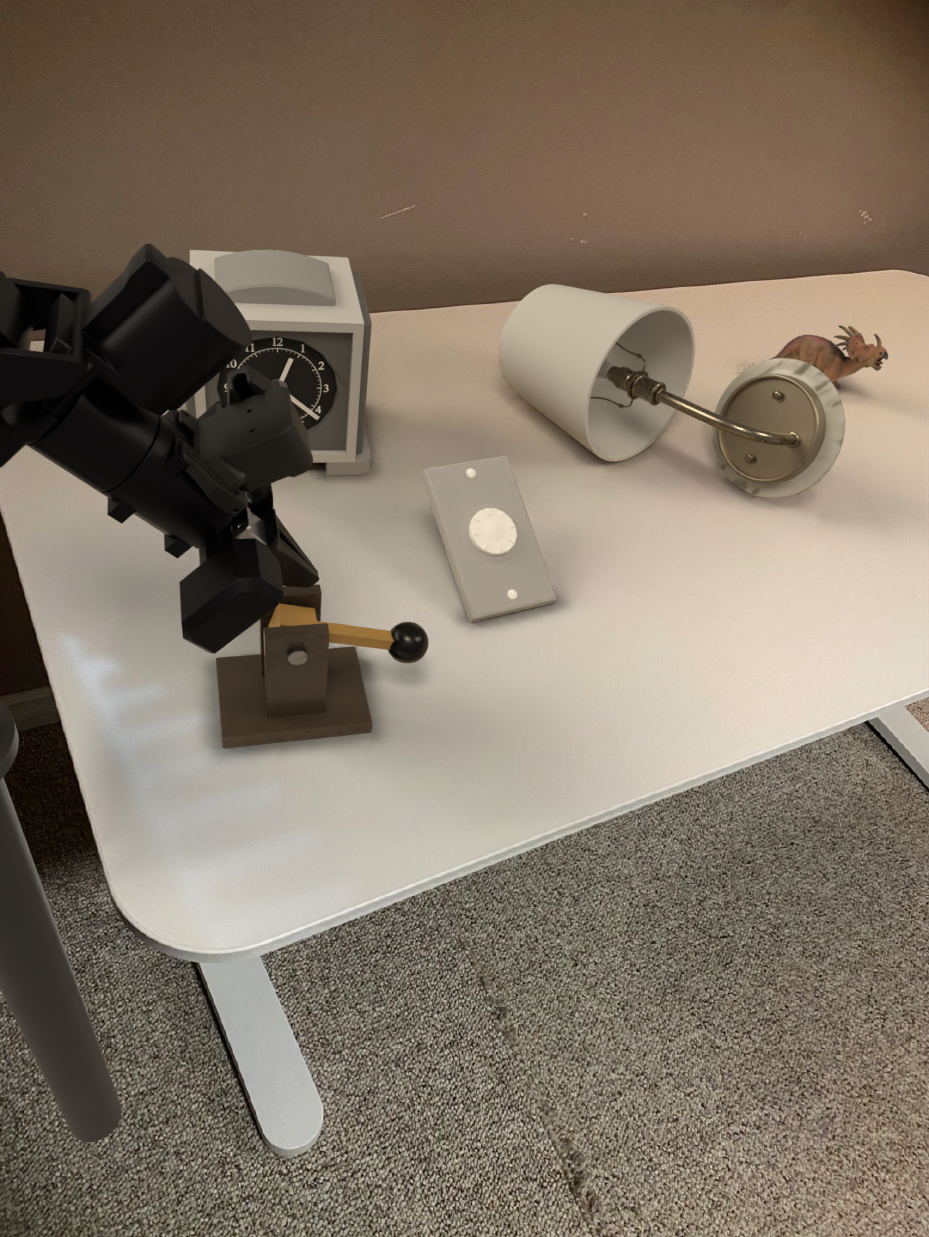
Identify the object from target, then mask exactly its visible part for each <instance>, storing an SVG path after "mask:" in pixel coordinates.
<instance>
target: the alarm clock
mask: <svg viewBox="0 0 929 1237" xmlns="http://www.w3.org/2000/svg"><path fill="white" fill-rule="evenodd" d="M189 264H190V265H191V266H193V267H194V268H195V269H197V270H198V269H199V268H201V269H202V270H204V271H205V272H206V273H207V274H208V275H209V276H210V277H211V278H212V279H213V280H214V281H215V282H216V283H217V284H218V285H219V286H220V287H221V288H222V289H223V290H224V291H225V292H226V294H227V295H228V296H229V297H230V298H231V300H232V301H233V302H234V303H235V305H236V306H237V307H238V309H239V310H240V312H241V313H242V315H243V316H244V318H245V320H246V322H247V324H248V326H249V328H250V331H251V334H252V343H251V344H250V345H249V346H248V347H247V348H246V349H245V350H244V351H242V352H241V353H240V354H239V355H238V356H237V357H236V358H235V359H234V360H232V361H231V362H230V363H229V364H228V365H227V366H226V367H225V368H223V369H222V370H221V371H220V372H219V373H218V374H217V375H216V376H215V377H213V378H212V379H211V380H210V381H209V382H208V383H207V384H206V385H204V386H203V387H202V388H201V389H200V390H199V391H198V392H197V393H196V394H194V395H193V396H192V397H191V398H190V399H189V400H188V401H187V402H185V403H184V404H183V405H182V406H181V410H182V409H183V410H185V411H187V412H188V413H189V414H191V415H192V416H193V417H195V418H197V419H198V418H199V417H200V416H201V415H202V414H203V413H204V412H206V411H207V410H208V409H209V408H210V407H211V406H212V405H214V404H215V403H216V402H217V401H228V397H227V374H228V373H229V372H231V371H234V370H236V369H239V368H241V367H244V366H246V365H249V366H250V367H252V368H253V369H255V370H256V371H258V372H259V373H261V374H262V375H264V376H265V377H267V378H268V379H269V380H270V381H271V382H273V381H275V380H278V382H279V384H280V386H281V387H286V388H287V389H288V390H289V392H290V397H291V401H292V403H293V405H294V407H295V409H296V411H297V413H298V415H299V417H300V418H301V420H302V422H303V424H304V426H305V428H306V430H307V433H308V441H309V446H310V450H311V453H312V456H313V463H324V467H325V474H326V476H363V475H366V474H368V473H369V471H370V470H371V465H372V463H371V462H372V453H371V449H370V445H369V438H368V435H367V434H368V433H367V430H366V425H365V420H366V406H367V392H368V380H369V367H370V366H369V365H370V354H371V352H370V351H371V338H372V324H373V322H372V319H371V315H370V311H369V307H368V303H367V300H366V295H365V291H364V288H363V284H362V279H361V275H360V272H352V268H351V264H350V260H349V257H345V256H344V257H343V256H325V255H324V256H323V255H306V254H302V253H299V252H298V253H297V252H294V251H288V250H287V251H286V250H278V249H249V250H243V251H224V250H222V251H221V250H220V251H219V250H201V249H189Z"/></svg>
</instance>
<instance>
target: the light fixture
mask: <svg viewBox="0 0 929 1237" xmlns="http://www.w3.org/2000/svg"><path fill="white" fill-rule="evenodd" d="M497 356H498V367H499V371H500V375H501V377H502V380H503V381H504V383H505V385H506V386H507V387H509V389H510V390H511V391H513V392H514V393H515V394H516V395H518V396H519V397H520V398H522V399H523V400H524V401H525V402H527V403H528V404H529V405H531V407H533V408H534V409H536V410H537V411H539V412H540V413H541V415H543V416H545V417H546V418H547V419H548V420H550V421H551V422H552V423H554V424H555V425H556V426H558V427H559V428H560V429H561V430H563V431H564V432H565V433H567V434H568V435H569V436H570V437H572V438H573V439H574V440H576V441H577V443H579V444H580V445H581V446H583V447H585V449H587V450H588V451H589V452H591V453H592V454H594V455H595V456H597V457H598V458H600V459H601V460H603V461H607V462H613V463H617V462H624V461H627V460H629V459H631V458H634V457H636V456H637V455H638V454H641V453H642V452H643V451H645V450H646V449H647V448H648V447H650V446H651V445H653V443H654V442H655V441H656V440H657V439H658V438H659V436H660V435H661V434H662V433H663V432H664V431H665V430H666V428H667V427H668V425H669V424H670V422H671V421H672V420H673V418H674V417H675V415H676V414H677V411H678V412H681V413H683V414H685V415H688V416H690V417H691V418H693V419H696V420H698V421H700V422H702V423H704V424H707V425H709V426H711V441H712V442H711V443H712V447H713V448H712V449H713V452H714V455H715V458H716V461H717V463H718V465H719V467H720V469H721V470H722V472H723V474H724V475H725V476H726V477H727V479H728V480H729V481H730V482H731V483H732V484H733V485H735V486H736V487H737V488H739V489H740V490H741V491H743V492H745V493H746V494H750V495H751V496H754V497H758V498H764V499H770V500H771V499H772V500H773V499H774V500H775V499H785V498H790V497H793V496H796V495H800V494H802V493H804V492H806V491H808V490H809V489H811V488H813V487H814V486H815V485H816V484H818V483H819V482H820V481H821V480H822V479H823V478H824V477H825V476H826V475H827V474H828V473H829V471H830V470H831V469H832V468H833V466H834V465H835V463H836V461H837V459H838V457H839V455H840V451H841V450H842V447H843V444H844V439H845V434H846V413H845V408H844V403H843V400H842V398H841V396H840V392H839V391H838V388H836V387H835V386H834V384H833V383H832V382H831V380H830V379H829V378H828V377H827V376H826V375H825V374H824V373H823V372H821V371H820V370H819V369H817V368H816V367H814V366H812V365H810V364H808V363H806V362H803V361H800V360H796V359H789V358H776V359H771V358H769V359H770V360H769V359H765V360H761V361H760V362H757V363H755V364H753V365H751V366H749V367H747V368H746V369H744V370H743V371H742V372H740V373H739V374H738V375H737V376H736V377H734V379H733V380H732V381H731V382H730V383H729V385H727V387H726V388H725V389H724V391H723V393H722V394H721V396H720V398H719V400H718V403H717V405H716V408H715V410H714V411H711V410H709V409H707V408H705V407H703V406H701V405H698V404H696V403H694V402H692V401H689V400H687V399H685V398H684V397H685V395H686V393H687V390H688V388H689V384H690V381H691V379H692V374H693V369H694V365H695V357H696V338H695V332H694V328H693V325H692V322H691V321H690V319H689V317H688V316H687V315H686V313H685V312H684V311H683V310H681V309H679V308H678V307H675V306H672V305H669V304H663V303H658V302H654V301H653V302H652V301H648V300H642V299H638V298H631V297H627V296H621V295H616V294H611V293H605V292H600V291H596V290H590V289H585V288H580V287H574V286H569V285H564V284H557V283H556V284H555V283H548V284H544V285H541V286H539V287H536V288H535V289H533V290H532V291H530V292H528V294H526V295H525V296H524V297H523V298H522V299H521V300H520V301H519V302H518V304H517V305H516V306H515V307H514V309H513V310H512V312H511V313H510V315H509V316H508V318H507V320H506V322H505V324H504V327H503V330H502V332H501V336H500V339H499V345H498V354H497Z"/></svg>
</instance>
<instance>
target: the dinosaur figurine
mask: <svg viewBox="0 0 929 1237" xmlns="http://www.w3.org/2000/svg"><path fill="white" fill-rule="evenodd" d="M838 328H840V329H841V330H843V332H845V333H846V334H847V335H841V334H840V335H838V334H837V335H834V336H833V338H835V339H838V340H842V342H839V343H836V344H835V343H834V342H833V340H830V339H828V338H826V337H824V336H820V335H815V334H801V335H797V336H796V337H794V338H792V340H790V341H788V342H787V343H786V344H785V345H784V346H783V347H782V348H781V350H780V351H779V352H778V353H777V354H776V355H774V356H773V357H771V358H769V359H768V360H770V359H776V358H789V359H796V360H800V361H803V362H806V363H808V364H810V365H812V366H814V367H816V368H817V369H819V370H820V371H821V372H823V373H824V374H825V375H826V376H827V377H828V378H829V379H830V380H831V382H832V383H833V384H834V386H835V388H836V389H841V388H842V387H841V384H840V383H838V382H837V381H838V380H839V379H842V378H845V377H848V376H851V375H854V374H856V373H857V372H858V371H860V370H862V369H863V368H866V369H867V368H871V369H873V370H874V371H876V372H877V371H880V370H881V369H882V367H883V366H882V365H883V364H884V362H883V360H886V361H888V360H889V353H888V351H887V349H886V348H885V347H884V346H883V343H882V340H881V337H880V336H879V335H878V334H877V333H874V334H873V336H874V337H875V339H876V346H875V344H874V343H867V344H866V341H865V338H864V336H863V335H862V332H859V331H858V330H857V329H856V328H855V327H853V326H851V325H848V327H845V326H843V325H840V324H839V325H838ZM840 347H842V349H841V348H840ZM844 351H845V352H846V353H847V356H846V355H845V353H844Z"/></svg>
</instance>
